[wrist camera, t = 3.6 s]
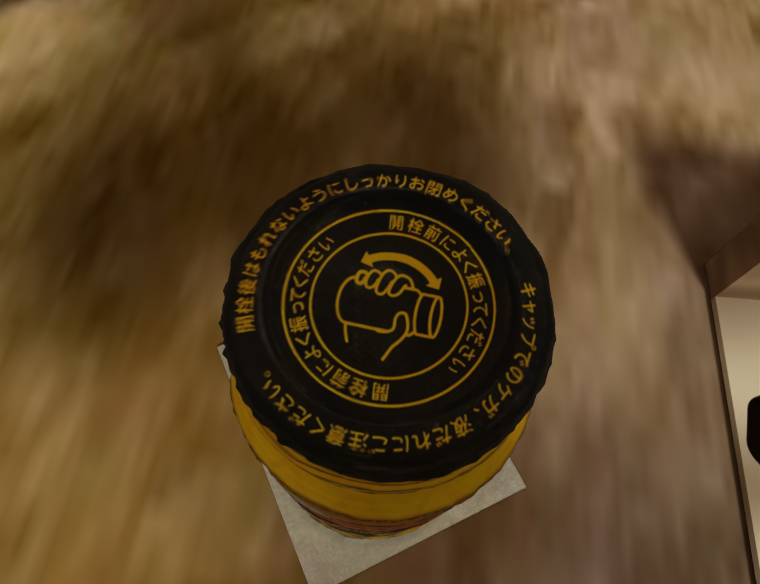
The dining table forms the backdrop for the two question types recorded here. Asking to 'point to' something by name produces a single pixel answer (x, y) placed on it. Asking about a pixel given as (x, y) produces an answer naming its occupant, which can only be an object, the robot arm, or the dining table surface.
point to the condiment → (384, 358)
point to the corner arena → (740, 355)
